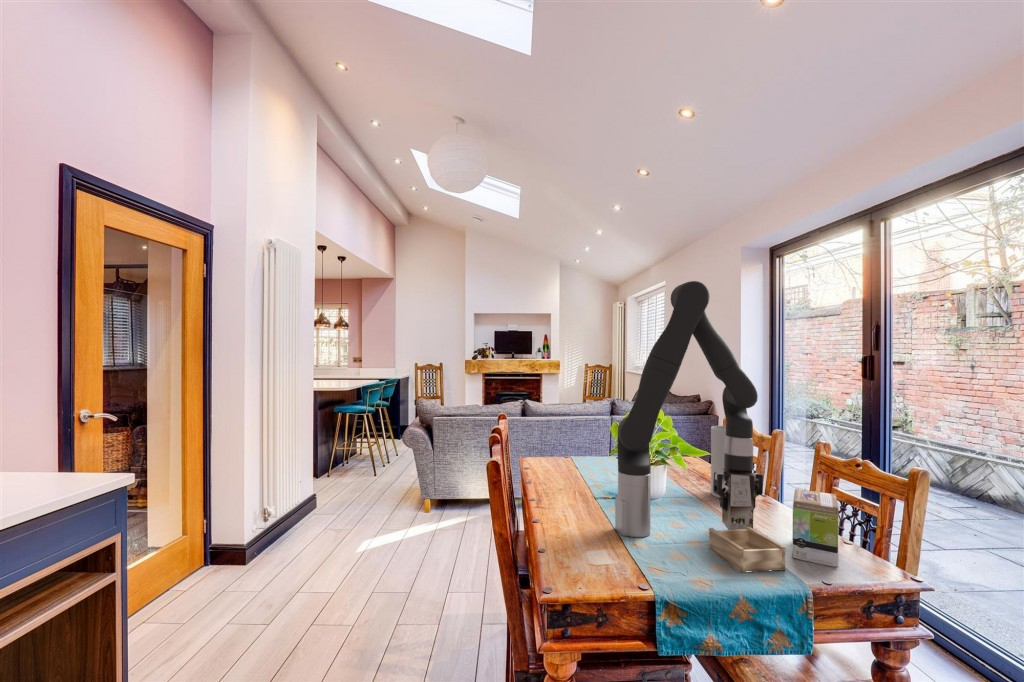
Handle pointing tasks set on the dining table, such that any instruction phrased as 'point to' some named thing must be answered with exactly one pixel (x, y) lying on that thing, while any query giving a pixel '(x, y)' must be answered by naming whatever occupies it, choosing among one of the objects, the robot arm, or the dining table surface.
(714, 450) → the cylinder vase
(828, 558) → the tea box
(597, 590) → the dining table surface
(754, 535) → the crate
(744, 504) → the coffee box
